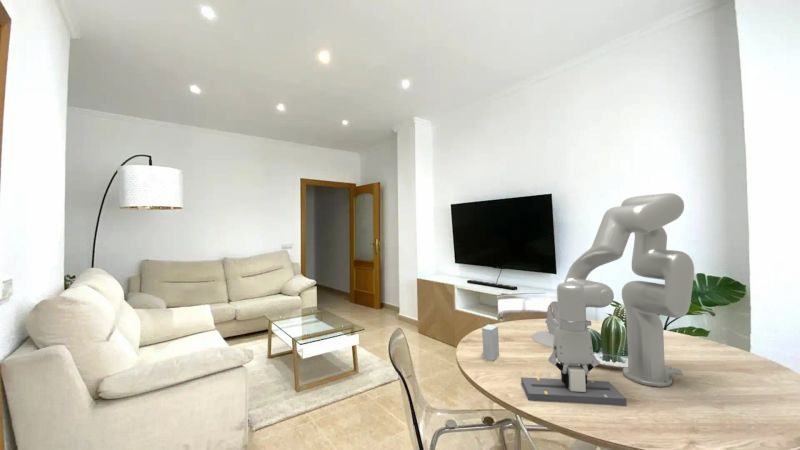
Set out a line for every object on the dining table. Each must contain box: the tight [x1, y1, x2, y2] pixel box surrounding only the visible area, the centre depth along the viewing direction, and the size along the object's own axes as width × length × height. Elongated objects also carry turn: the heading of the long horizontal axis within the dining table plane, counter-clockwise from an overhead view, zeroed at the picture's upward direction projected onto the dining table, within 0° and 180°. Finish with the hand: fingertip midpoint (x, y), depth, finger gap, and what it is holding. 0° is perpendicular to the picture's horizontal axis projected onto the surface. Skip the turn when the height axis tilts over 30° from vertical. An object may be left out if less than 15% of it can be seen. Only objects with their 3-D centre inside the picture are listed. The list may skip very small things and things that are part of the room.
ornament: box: [531, 300, 558, 349], centre depth 137 cm, size 22×13×17 cm, turn 18°
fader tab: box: [567, 364, 586, 392], centre depth 94 cm, size 4×6×6 cm
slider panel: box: [520, 376, 628, 407], centre depth 94 cm, size 26×10×2 cm, turn 81°
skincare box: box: [481, 323, 500, 362], centre depth 122 cm, size 6×4×12 cm
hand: (574, 384), depth 94 cm, fingers closed on fader tab, 4 cm apart
